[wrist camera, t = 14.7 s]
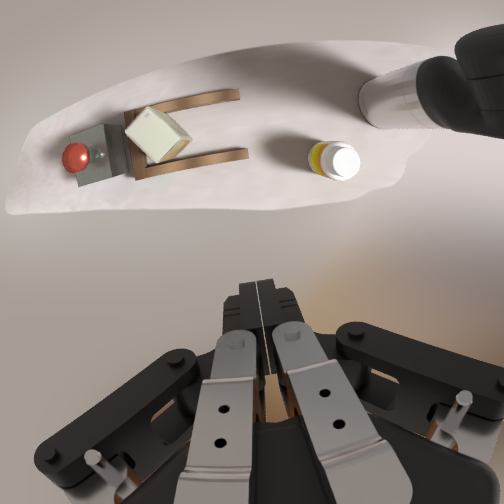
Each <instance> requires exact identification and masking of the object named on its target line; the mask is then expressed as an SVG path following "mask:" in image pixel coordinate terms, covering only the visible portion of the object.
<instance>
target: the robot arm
mask: <svg viewBox="0 0 504 504" xmlns="http://www.w3.org/2000/svg"><path fill="white" fill-rule="evenodd" d="M455 55H456V58H457V60H455V59H453V58H451V57H448V56H437V57H433V58H430V59H427V60H424V61H421V62H418V63H415V64H412V65H409V66H407V67H404V68H401V69H398V70H395V71H393V72H390V73H387V74H385V75H382V76H379V77H377V78H374V79H372V80H370V81H367V82H366V83H365V84H364V85H363V86H362V88H361V90H360V92H359V106H360V110H361V112H362V114H363V116H364V117H365V119H366V120H367V121H368V122H369V123H370V124H372V125H373V126H375V127H377V128H380V129H451V130H453V131H456V132H462V133H471V134H477V135H483V136H488V137H494V138H499V139H504V24H501V25H495V26H490V27H486V28H482V29H479V30H476V31H473V32H471V33H469V34H466V35H465V36H463V37H462V38H460V40H459V41H457V43H456V45H455ZM257 287H258V294H259V300H260V307H261V313H262V320H263V326H264V332H265V338H266V344H267V349H268V356H269V362H270V368H271V373H272V374H276V373H277V376H278V382H279V389H280V392H281V396H282V399H283V403H284V406H285V410H286V413H287V416H288V419H287V420H284V421H282V422H278V423H268V422H266V392H265V384H266V381H265V375H269V374H270V373H269V366H268V359H267V353H266V347H265V340H264V335H263V327H262V321H261V315H260V309H259V303H258V296H257V290H256V284H255V282H247V283H241V284H239V293H240V294H239V295H234V296H229V297H228V298H227V300H226V301H225V302H224V311H223V333H222V334H223V335H222V336H221V337H220V338H219V339H218V341H217V344H216V348H215V349H214V350H212V351H210V352H208V353H206V354H203V355H200V356H197V357H196V355H195V354H194V353H193V352H192V351H190V350H188V349H175V350H172V351H169V352H167V353H165V354H164V355H162V356H161V357H160V358H158V359H157V360H156V361H154V362H153V363H152V364H150V365H149V366H148V367H146V368H145V369H144V370H142V371H141V372H140V373H138V374H137V375H136V376H135V377H133V378H132V379H130V380H129V381H128V382H127V383H125V384H124V385H122V386H121V387H120V388H118V389H117V390H115V391H114V392H113V393H111V394H110V395H109V396H107V397H106V398H105V399H103V400H102V401H101V402H99V403H98V404H96V405H95V406H94V407H92V408H91V409H89V410H88V411H87V412H85V413H84V414H83V415H81V416H80V417H78V418H77V419H75V420H74V421H73V422H71V423H70V424H68V425H67V426H66V427H64V428H63V429H61V430H60V431H58V432H57V433H56V434H54V435H53V436H51V437H50V438H48V439H47V440H45V441H44V442H43V443H42V444H40V445H39V446H38V448H37V449H36V452H35V454H34V463H35V466H36V467H37V468H38V470H39V471H41V472H42V473H43V474H44V475H45V476H46V477H47V478H49V479H50V480H51V481H52V482H53V483H54V485H56V486H57V487H58V488H60V489H61V490H62V491H64V493H65V494H66V496H67V497H68V498H69V500H70V501H71V503H72V504H499V501H500V485H499V481H498V478H497V476H496V474H495V472H494V471H493V470H492V468H490V467H489V466H488V463H489V461H490V458H491V456H492V453H493V450H494V447H495V444H496V441H497V438H498V435H499V432H500V429H501V425H502V422H503V421H504V368H503V367H499V366H496V365H493V364H489V363H486V362H483V361H479V360H476V359H473V358H470V357H466V356H463V355H460V354H457V353H454V352H451V351H447V350H445V349H441V348H438V347H435V346H432V345H429V344H426V343H423V342H420V341H417V340H414V339H411V338H408V337H405V336H402V335H399V334H396V333H393V332H390V331H387V330H384V329H382V328H379V327H375V326H373V325H370V324H367V323H364V322H349V323H346V324H344V325H342V326H341V327H339V328H338V330H337V331H336V334H319V333H315V332H313V330H312V329H311V327H310V326H309V325H307V324H305V322H304V319H303V317H302V314H301V311H300V308H299V306H298V304H297V301H296V298H295V296H294V293H293V292H292V291H291V290H289V289H288V288H287V287H285V288H279V289H276V288H275V285H274V281H273V279H266V280H260V281H257ZM372 369H375V370H377V371H380V372H382V373H385V374H387V375H390V376H392V377H394V378H396V379H397V380H398V382H399V383H400V384H398V383H396V382H393V381H391V380H388V379H386V378H383V377H381V376H378V375H376V374H374V373H371V370H372ZM171 399H173V401H174V403H173V404H172V405H171V406H170V407H169V408H168V409H166V410H165V411H164V412H163V413H162V414H160V415H159V416H158V417H157V418H156V419H154V420H153V421H152V422H151V419H152V417H153V415H154V414H155V413H156V412H158V411H159V410H160V409H161V408H162V407H164V406H165V405H166V404H167V403H168V402H170V401H171ZM366 411H368V412H370V413H372V414H370V413H366ZM400 426H401V427H400ZM407 429H408V430H407ZM409 430H410V431H409ZM411 431H412V432H411ZM413 432H415V433H417V434H415V433H413ZM418 434H420V435H422V436H425V437H426V438H424V437H422V436H420V435H418ZM190 438H191V440H190V441H189V442H187V441H188V440H189V439H190ZM186 442H187V443H186ZM185 443H186V444H185ZM167 459H168V460H167ZM166 460H167V461H166ZM165 461H166V462H165ZM164 462H165V463H164ZM158 467H159V468H158ZM157 468H158V469H157ZM156 469H157V470H156ZM155 470H156V471H155ZM154 471H155V472H154ZM153 472H154V473H153ZM152 473H153V474H152ZM150 474H152V475H151V476H150V477H149V478H148V479H146V478H147V477H148V476H149V475H150ZM144 479H146V480H145V481H144V482H143V483H142V481H143V480H144Z"/></svg>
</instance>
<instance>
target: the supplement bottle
mask: <svg viewBox="0 0 504 504" xmlns="http://www.w3.org/2000/svg"><path fill="white" fill-rule="evenodd" d="M308 162H309V165H310V167H311V169H312V170H313V171H314V172H315V173H317V174H319V175H322V176H325V177H327V178H330V179H333V180H336V181H344V180H347V179H349V178H351V177H352V176H353V175H355V174H356V173H357V171H358V170H359V167H360V159H359V156H358V154H357V153H356V151H355V150H354V148H353V147H352V146H350V145H349V144H347V143H345V142H339V141H329V142H319V143H317V144H315V145H314V146H313V147H312V148H311V149H310V151H309V154H308Z"/></svg>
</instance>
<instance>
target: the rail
mask: <svg viewBox="0 0 504 504" xmlns="http://www.w3.org/2000/svg"><path fill="white" fill-rule="evenodd" d="M235 100H240V95H239V89H232V90H225V91H219V92H213V93H207V94H202V95H197V96H192V97H187V98H182V99H177V100H173V101H169V102H165V103H160V104H157V105H153V106H149V107H151V108H154V109H156V110H158V111H161V112H163V113H165V114H166V113H171V112H175V111H180V110H184V109H189V108H194V107H199V106H204V105H210V104H216V103H222V102H228V101H235ZM145 108H146V107H145ZM145 108H141V109H138V110H130V111H127V112H124V116H125V123H126V129H127V128H128V126H129V125H130V124H131V123H132V122H133V121H134V120H135V118H136V117H137V116H138V115H139V114H140V113H141V112H142V111H143V110H144V109H145ZM127 136H128V135H127ZM128 142H129V148H130V154H131V160H132V165H133V170H134V175H135V181H136V180H141V179H145V178H148V177H152V176H157V175H161V174H166V173H170V172H175V171H180V170H185V169H190V168H195V167H201V166H206V165H212V164H218V163H223V162H230V161H236V160H242V159H249V154H248V149H241V150H235V151H229V152H222V153H217V154H211V155H205V156H200V157H195V158H190V159H185V160H180V161H175V162H170V163H166V164H161V165H157V166H152V167H148V164H147V159H146V153H145V152H144V151H143V150H141V149H140V148H139V147H138V146H137V145H136V144H135V143H134V142H133V141H132V140H131V138H130V137H129V136H128Z"/></svg>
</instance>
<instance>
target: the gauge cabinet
mask: <svg viewBox="0 0 504 504" xmlns="http://www.w3.org/2000/svg"><path fill="white" fill-rule="evenodd" d="M69 137H70V144H72V143H83V144H85V145H86V146H87V147H88V148H91V149H92V150H93V151H94V154H95V157H94V160H93V162H92V163H90V164H88V166H87V167H86V168H85V169H84V170H83V171H81V172H77V173H76V177H77V182H78V187H80V186H84V185H87V184H90V183H94V182H97V181H101V180H104V179H108V178H111V177H115V176H118V175H121V174H125V173H128V167H127V161H126V156H125V150H124V144H123V138H122V132H121V126H118V125H110V124H101V125H98V126H95V127H92V128H89V129H86V130H84V131H81V132H78V133H76V134H73V135H71V136H69Z"/></svg>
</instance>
